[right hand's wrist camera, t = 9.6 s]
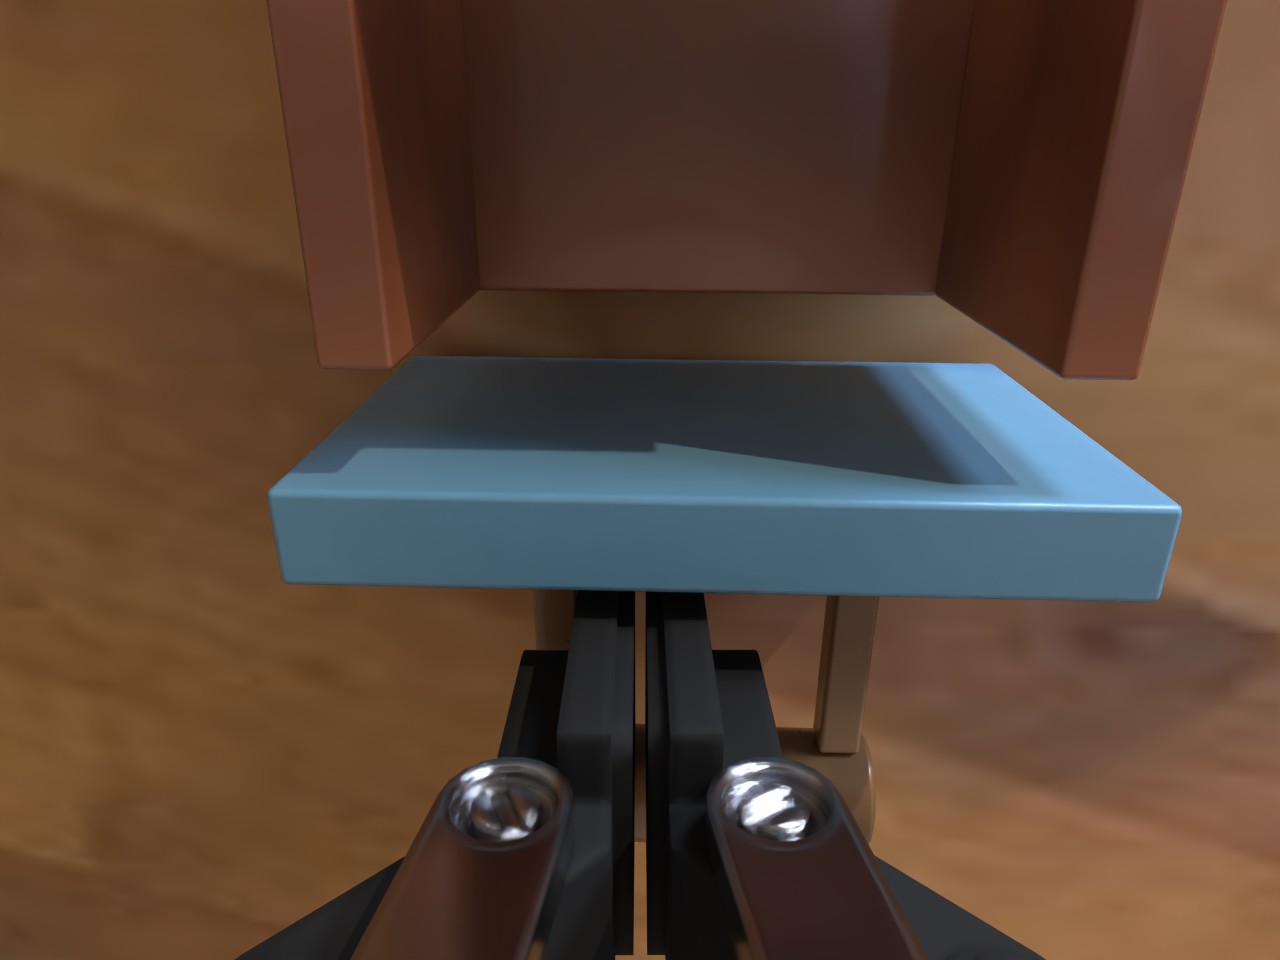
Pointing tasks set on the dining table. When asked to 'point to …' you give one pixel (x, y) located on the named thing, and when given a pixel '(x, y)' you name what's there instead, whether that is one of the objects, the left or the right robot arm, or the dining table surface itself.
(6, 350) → the dining table surface
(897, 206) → the drawer
